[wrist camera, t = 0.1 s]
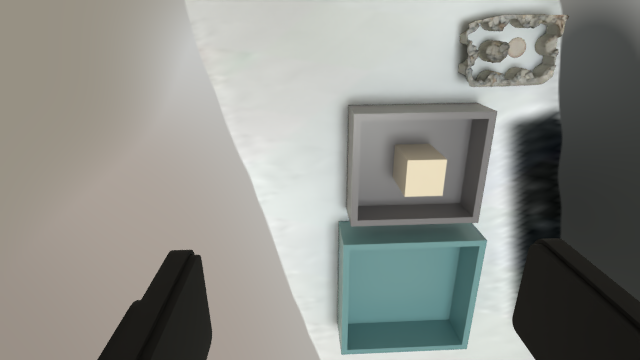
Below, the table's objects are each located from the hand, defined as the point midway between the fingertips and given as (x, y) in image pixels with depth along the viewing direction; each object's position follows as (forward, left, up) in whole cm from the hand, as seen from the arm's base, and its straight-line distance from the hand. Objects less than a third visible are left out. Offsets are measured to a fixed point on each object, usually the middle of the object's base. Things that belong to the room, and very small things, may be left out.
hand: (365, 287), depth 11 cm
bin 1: (+9, +12, -37) cm, 40 cm away
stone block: (+9, +12, -36) cm, 39 cm away
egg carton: (-4, +22, -37) cm, 43 cm away
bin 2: (+27, +12, -37) cm, 47 cm away
